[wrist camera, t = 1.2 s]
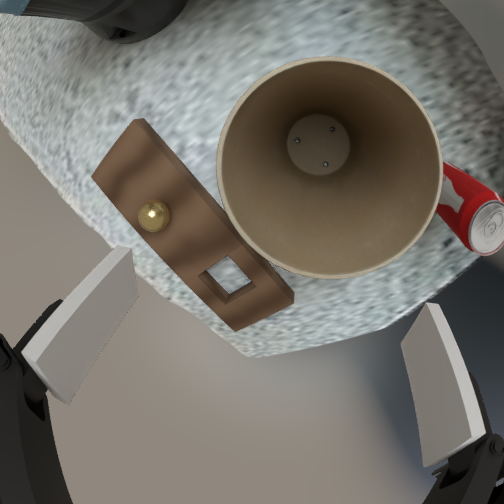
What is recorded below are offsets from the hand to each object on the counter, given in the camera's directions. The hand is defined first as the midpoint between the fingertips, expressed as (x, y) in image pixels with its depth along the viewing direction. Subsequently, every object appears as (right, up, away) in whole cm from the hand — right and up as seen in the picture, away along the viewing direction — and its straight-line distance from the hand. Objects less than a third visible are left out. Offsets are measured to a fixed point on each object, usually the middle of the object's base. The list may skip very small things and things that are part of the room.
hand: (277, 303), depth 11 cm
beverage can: (+21, +11, +17) cm, 30 cm away
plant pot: (+7, +14, +18) cm, 24 cm away
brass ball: (-13, +7, +21) cm, 25 cm away
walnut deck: (-9, +5, +26) cm, 28 cm away
